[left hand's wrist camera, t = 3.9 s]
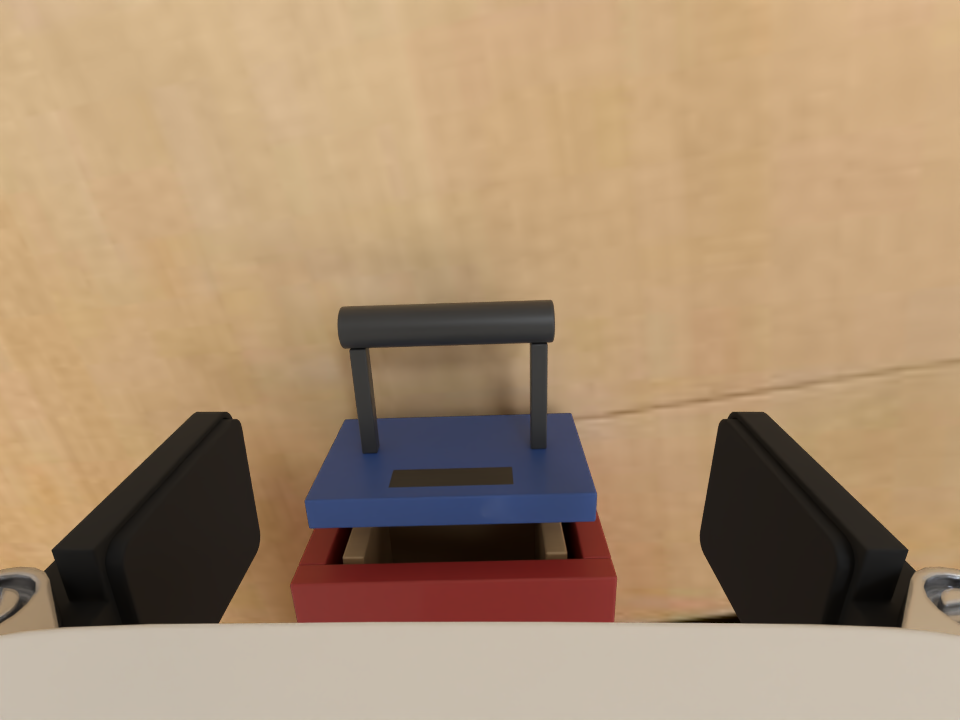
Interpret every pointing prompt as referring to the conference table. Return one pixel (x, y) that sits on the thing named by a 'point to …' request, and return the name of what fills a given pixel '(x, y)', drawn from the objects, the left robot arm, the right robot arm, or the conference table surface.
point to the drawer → (452, 452)
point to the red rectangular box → (457, 585)
